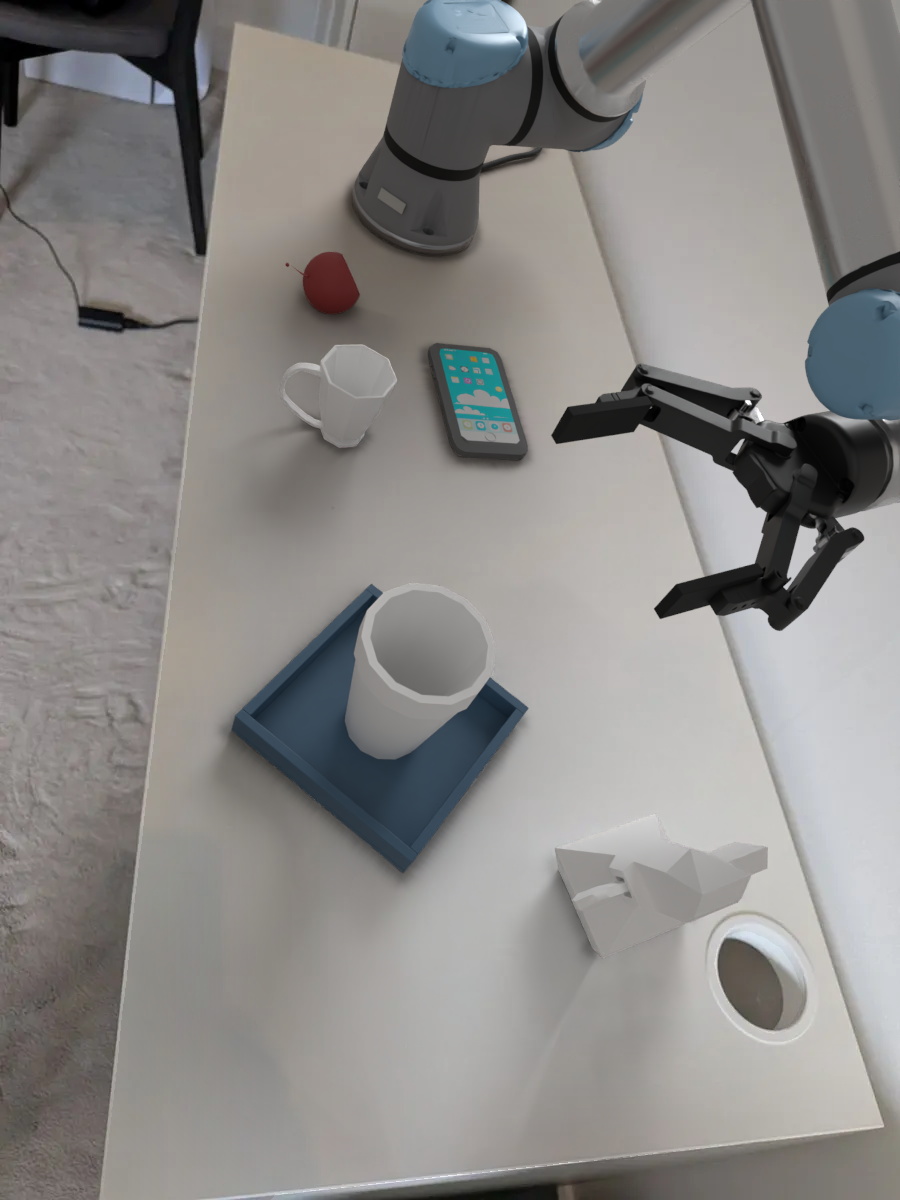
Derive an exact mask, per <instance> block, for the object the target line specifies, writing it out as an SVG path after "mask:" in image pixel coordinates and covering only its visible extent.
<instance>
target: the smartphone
mask: <svg viewBox="0 0 900 1200" xmlns="http://www.w3.org/2000/svg"><path fill="white" fill-rule="evenodd" d="M427 358H428V362H429V366H430V371H431V374H432V375H431V376H432V378H433V383H434V386H435V390H436V394H437V398H438V402H439V406H440V409H441V414H442V418H443V422H444V426H445V429H446V433H447V437H448V443H449V444H450V445H451V448H452V450H453V452H454V453H455V454H456V455H458V456H459V457H462V458H475V459H492V460H493V459H495V460H515V461H520V460H522V459H523V458H525V456H526V455H527V452H528V451H529V446H528V441H527V438H526V434H525V431H524V428H523V425H522V421H521V418H520V414H519V411H518V408H517V405H516V402H515V399H514V395H513V393H512V392H513V391H512V389H511V385H510V383H509V378H508V375H507V373H506V369H505V366H504V362H503V359H502V358H501V356H500V353H499V352H498V351H497V350H495V349H493V348H490V347H483V346H471V345H464V344H463V345H461V344H453V343H443V342H436V343H433V344H431V345H430V346H429V348H428V350H427Z"/></svg>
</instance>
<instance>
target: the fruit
mask: <svg viewBox="0 0 900 1200" xmlns="http://www.w3.org/2000/svg"><path fill="white" fill-rule="evenodd" d="M290 266H291V267H292V268H294V269H295V271H297V272H298V273H299V274H300V275H302V288H303V292H304V295H305V297H306V299H307V300H308V302H309V304H310V305H311V306H312V308H314V310H316V311H318V312H321V313H323V314H328V315H337V314H342V313H344V312H347V311H348V310H351V308H352V307H354V305H355V304H357V302H358V300H359V298H360V296H361V292H360V290H359V288H358V285H357V283H356V280H355V278H354V277H353V274H352V272H351V269H350V267H349V265H348V263H347V261H346V258H345V256H344V254H343V253H341V252H338V251H324V252H321V253H319V254H317V255H315V256H314V257H312V258H311V259H310V261H309V262H308V263H307V264H306V266H305V268H304V270H303V272H301V271H300V270H298V269H297V268H296V267H294V266H293V265H290V263H289V262H286V263H285V267H286V268H289V267H290Z"/></svg>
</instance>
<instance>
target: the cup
mask: <svg viewBox="0 0 900 1200" xmlns="http://www.w3.org/2000/svg"><path fill="white" fill-rule="evenodd" d="M299 372H306V373H309V374H311V375H313V376H316V377H318V378H319V387H318V388H319V389H318V407H319V414H320V415H319V417H320V419H316V418H315V417H312V416H311V415H309V414H308V413H306V412H305V411H304V410H302V409H301V407H299V406H298V405H297V404H296V403H294V401H292V400H291V398H290V397H289V396H288V395H287V394H286V390H285V385H286V383H287V381H288V379H289V378H290V377H291V376H292V375H295V374H297V373H299ZM282 376H283V377H282V378H281V382H280V384H279V390H278V391H279V395H280V400H281V401H282V403H283V404H284V406H285V407H286V408H287V409H289V411H290V412H292V413H293V414H294V415H295V416H296V417H298V418H299V419H300V420H301V421H302V422H304V423H306V424H308V425H309V426H311V427H313V428H317V429H320V433H321V435H322V438H323V440H324V441H326V442H328V443H329V444H331V445H333V446H335V447H337V448H339V449H343V448H356V447H357V446H358V445H359V444H360V442H361V441H362V440H363V438H364V437H365V435H366V431H367V430H368V429H369V428H370V426H371V425H372V423H373V422H374V421H375V419H376V418H377V417H378V416H379V415H380V413H381V410H382V409H383V407H384V406H385V404H386V401H387V399H388V398H389V397H390V395H391V393H392V391H394V388H395V386H396V385H397V382H398V378H397V376H396V373H395V371H394V368H393V366H392V364H391V361H390V359H389V358H388V357H386V356H384V355H383V354H381V353H379V352H377V351H376V350H374V349H373V348H370V347H369V346H367V345H365V344H357V343H356V344H334V345H333V347H332V348H331V349H330V350H329V351H328V352H327V353H326V354H325V356H323V357H322V359H320V364H317V363H312V362H297V363H295V364H293V365H291V366H290V367H288V368H287V370H286V371H285V373H284V374H283V375H282Z"/></svg>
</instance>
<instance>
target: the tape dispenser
mask: <svg viewBox="0 0 900 1200" xmlns="http://www.w3.org/2000/svg"><path fill="white" fill-rule="evenodd" d="M768 849H769V847H768V846H767V845H758V844H752V843H751V844H750V843H745V842H739V841H732V842H730V843H728V844H725V845H723V846H720V847H717V848H714V849H712V850H709V851H703V850H699V849H697V848H693V847H691V846H690V847H689V846H686V845H683V844H679V843H677V842H673V841H671V839H670V838H669V836H668V833H667V832H666V830H665V828H664V826H663V824H662V821H661V819H660V817H659V816H658V813H653V814H650V815H649V814H648V815H646V816H644V817H640V818H638V819H635V820H632V821H630V822H629V821H628V822H626V823H623V824H620V825H617V826H615V827H612V828H609V829H606V830H603V831H601V832H598V833H594V834H591V835H589V836H586V837H583V838H580V839H577V840H574V841H571V842H567V843H565V844H562V845H559V846H555V847H554V852H555V858H556V859H555V860H556V864H557V870H558V873H559V874H560V877H561V879H562V881H563V884H564V886H565V888H566V890H567V893H568V895H569V898H570V901H571V902H572V905H573V907H574V909H575V912H576V914H577V916H578V919H579V921H580V924H581V925H582V927H583V930H584V933H585V935H586V937H587V939H588V941H589V944H590V946H591V948H592V950H594V951H595V952H596V954H597V955H599V957H600V958H602V959H606V958H607V957H610V956H613V955H615V954H618V953H620V952H622V951H624V950H627V949H630V948H631V947H634V946H636V945H639V944H641V943H644V942H646V941H649V940H651V939H653V938H656V937H658V936H661V935H662V934H666V933H667V932H669V931H672V930H675V929H677V928H680V927H682V926H684V925H687V924H689V923H692V922H694V921H697V920H700V919H702V918H704V917H706V916H710V915H711V914H713V913H716V912H719V911H720V910H723V909H725V908H728V907H731V906H733V905H735V904H738V903H739V902H740V900H742V899H743V896H744V894H745V892H746V889H747V886H748V884H749V882H750V880H751V877H752V876H753V875H755V874H758V873H760V872H762V871H765V870H767V869H769V868H768V867H769V865H768V861H769V860H768V859H769V858H768V855H769V854H768V853H769V851H768Z"/></svg>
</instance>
